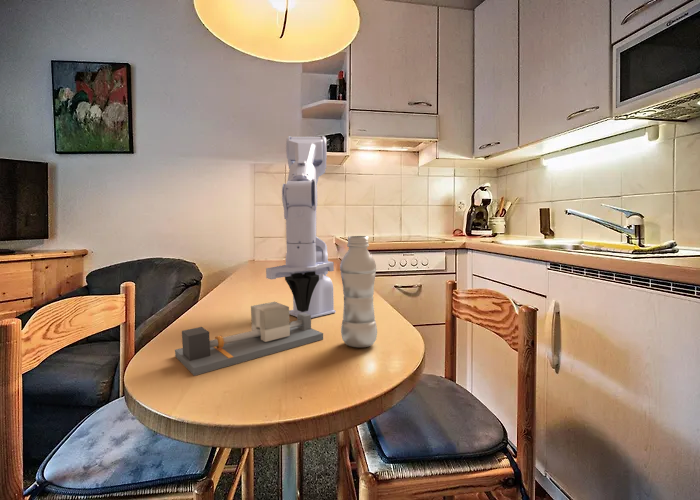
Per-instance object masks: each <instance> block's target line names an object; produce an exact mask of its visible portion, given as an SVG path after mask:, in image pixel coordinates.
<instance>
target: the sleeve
mask: <svg viewBox="0 0 700 500" xmlns="http://www.w3.org/2000/svg"><path fill="white" fill-rule="evenodd" d="M289 310H290V306H288V305H285V304H282V303H279V302H278V301H270V302H265V303H259V304H256V305H255V304H254V305H251V306H250V316H251V318H250V319H251V331H254V330H258V329H260V331H261V340H263V341H265V342H267V341H271V340H275V339H279V338H283V337H287V336H290V322H291V321H290V314H289ZM257 337H258V336H257Z"/></svg>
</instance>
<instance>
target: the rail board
mask: <svg viewBox="0 0 700 500" xmlns="http://www.w3.org/2000/svg"><path fill="white" fill-rule="evenodd" d="M289 322H290V336H287V337H283V338H279V339H275V340H271V341H267V342H265V341H263V340H261V331H260V329H258V330H254V331H252V330H250V331H245V332H240V333H237V334H233V335H227V336H222V335H217V336H215V337H214V339H211V340H210V331H209V330H208V329H206V328H204V327H202V326H199V327H194V328H190V329H183V330H181V342H182V344H181V345H182V347H180V348H177V349H174V357H175V358H176V359H177V360H178V361H179V362H180V363H181V364H182V365H183V366H184V367H185V368H186V369H187V370H188V371H189V372H190V373H191V374H192V375H193V377H195V376H198V375H202V374H206V373H210V372H212V371H216V370H221V369H222V368H223V369H224V368H226V367H230V366H234V365H237V364H242V363H245V362H248V361H252V360H255V359H259V358H262V357H265V356H270V355H271V354H272V355H273V354H276V353H280V352H283V351H287V350H290V349H294V348H297V347H301V346H304V345H308V344H312V343H315V342H319V341H323V340H324V333H323V332H321V331H319V330H316V329H313V328H312V318H311V315H309V314H306V313H301V314H298V317H297V320H293V321H289ZM257 336H258V337H257Z"/></svg>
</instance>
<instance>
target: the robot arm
mask: <svg viewBox="0 0 700 500" xmlns="http://www.w3.org/2000/svg"><path fill="white" fill-rule="evenodd" d="M327 147H328V146H327V137H326V136H324V135H322V136H291V135H289V136H287V137H286V140H285V153H286V159H287V165H288V169H289V171H288V175H287V181H286V183H282V187H281V201H282V203H281V204H282V206H283V217H284V220H285V236H286V237H285V238H286V239H285V240H286V241H285V242H286V253H285V264H283V265H279V266H278V265H277V266H272V267H266V268H265V278H266V279H267V280H276V279H278V278H279V279H281V278H284V281H285V282H286V283H287V285H288V287H289V289H290V291H291V294H292V302H293V303H292V306H293V307H292V309H289V316H290V315H291V316H294V317H296V318H298V314H301V313H306V314H309V315H311V319H313V318H317V317H321V316H325V315H329V314H334V313H336V312H337V311H336V310H335V309H334V308H335V307H334V306H335V305H334V304H335V303H334V284H333V281H332V279H331V278H330V276H328V273H329V272H334V271H335V270H334V269H335V268H334V266H335V265H334V264H335V263H334V261H329V260H328V259H329V256H328V255H329V253H328V245H327V242H325V241H324V240H323V239H320V238H319V237H318V236H317V207H318V181H319V177H321V176H323V175H324V174H326V169H327V159H328V158H327Z"/></svg>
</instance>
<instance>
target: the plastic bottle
mask: <svg viewBox="0 0 700 500" xmlns="http://www.w3.org/2000/svg"><path fill="white" fill-rule="evenodd" d="M346 246H347V247H348V250H347V252H346V253H345V255H343V258H342V259H341V261H340V264H339V269H340V276H341V277H340V278H341V282H342V283H341V284H342V292H343V309H342V310H343V311H342V312H343V314H342V322H341V327H340V334H341V339H342V341H343V343H344V344H345V345H346V346H349V347H353V348H366V347H367V348H368V347H371V346H373V345H374V343H375V342H376V340H377V337H378V336H377V335H378V327H377V326H378V325H377V321H376V319H375V318H376V315H375V308H374V307H375V305H374V292H375V291H374V290H375V289H374V288H375V281H376V274H377V273H376V271H377V263H376V262H375V259H374V257H373V255H372V254H371V253H370V251H369V250H368V247H370V244H369V236H368V235H349V236H347V244H346Z"/></svg>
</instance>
